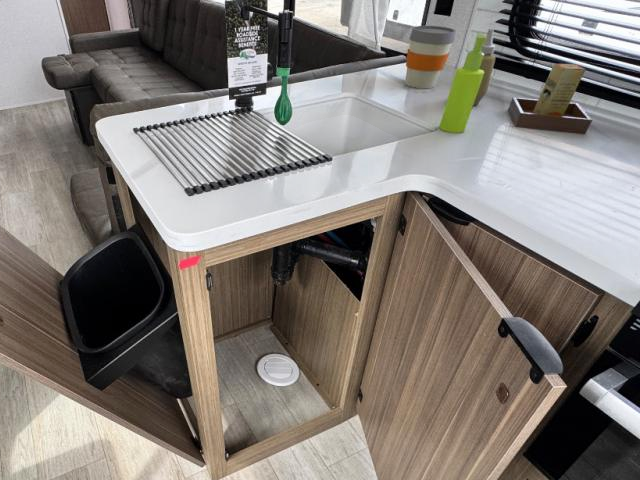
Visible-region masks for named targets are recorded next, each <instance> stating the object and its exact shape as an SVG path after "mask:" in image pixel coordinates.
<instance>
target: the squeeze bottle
mask: <svg viewBox="0 0 640 480" xmlns="http://www.w3.org/2000/svg"><path fill="white" fill-rule="evenodd" d="M494 32H495V29H494V28H488V30H487V32H486V33H485V35H486V39H485V41H484V43H483V46H482V49H481V52H482V53H484V56H483V59H482V62H481V65H480V68H479V69H480V70H483V71H484V75H483V78H482V81H481V83H480V86H479V89H478V92H477V95H476V98H475V101H474V104H473V106H477V105H479V103H481V100H482V99H483V98H484V96H485V95H486V93H487V92H488V89H489V86H490V81H491V78H492V74H493V69H494V66H495V62H496V56H495V55H494V53H495V49H496V45H495V44H493V40H494Z"/></svg>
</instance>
